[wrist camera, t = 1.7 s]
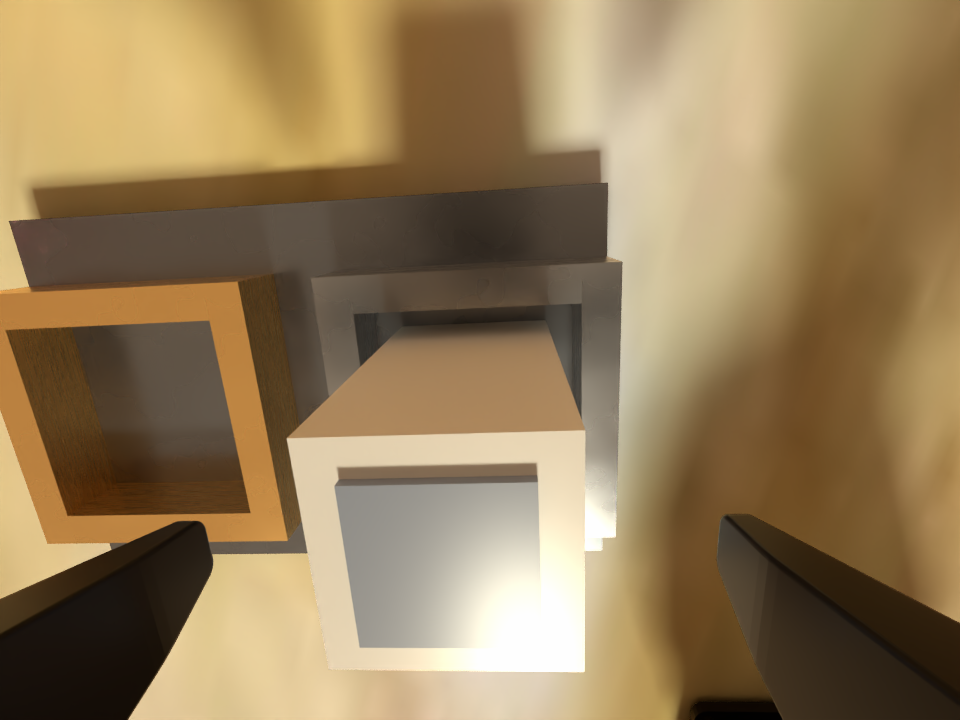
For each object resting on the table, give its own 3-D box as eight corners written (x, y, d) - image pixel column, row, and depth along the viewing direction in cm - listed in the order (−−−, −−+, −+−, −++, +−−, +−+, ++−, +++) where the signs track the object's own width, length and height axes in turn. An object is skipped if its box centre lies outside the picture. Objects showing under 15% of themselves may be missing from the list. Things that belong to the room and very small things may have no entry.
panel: (601, 185, 14) (624, 176, 11) (597, 532, 18) (614, 593, 15) (39, 221, 16) (-67, 221, 13) (133, 537, 19) (65, 594, 16)
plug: (545, 319, 15) (587, 436, 7) (548, 452, 16) (586, 683, 8) (402, 326, 15) (280, 444, 7) (415, 455, 16) (324, 680, 8)
